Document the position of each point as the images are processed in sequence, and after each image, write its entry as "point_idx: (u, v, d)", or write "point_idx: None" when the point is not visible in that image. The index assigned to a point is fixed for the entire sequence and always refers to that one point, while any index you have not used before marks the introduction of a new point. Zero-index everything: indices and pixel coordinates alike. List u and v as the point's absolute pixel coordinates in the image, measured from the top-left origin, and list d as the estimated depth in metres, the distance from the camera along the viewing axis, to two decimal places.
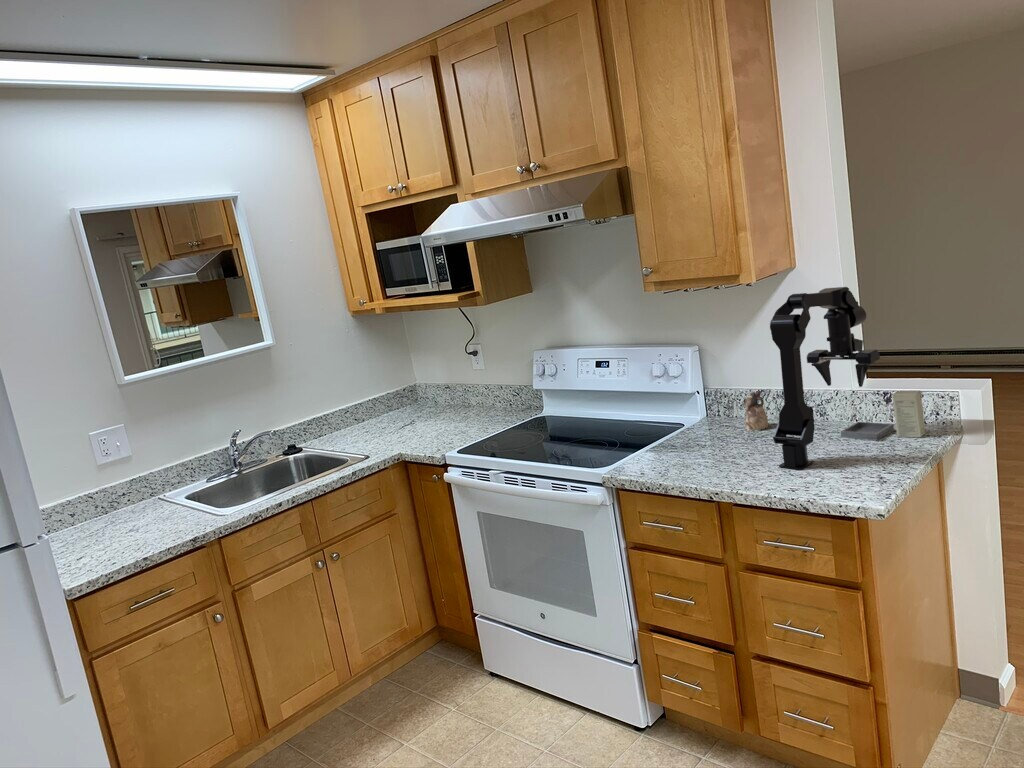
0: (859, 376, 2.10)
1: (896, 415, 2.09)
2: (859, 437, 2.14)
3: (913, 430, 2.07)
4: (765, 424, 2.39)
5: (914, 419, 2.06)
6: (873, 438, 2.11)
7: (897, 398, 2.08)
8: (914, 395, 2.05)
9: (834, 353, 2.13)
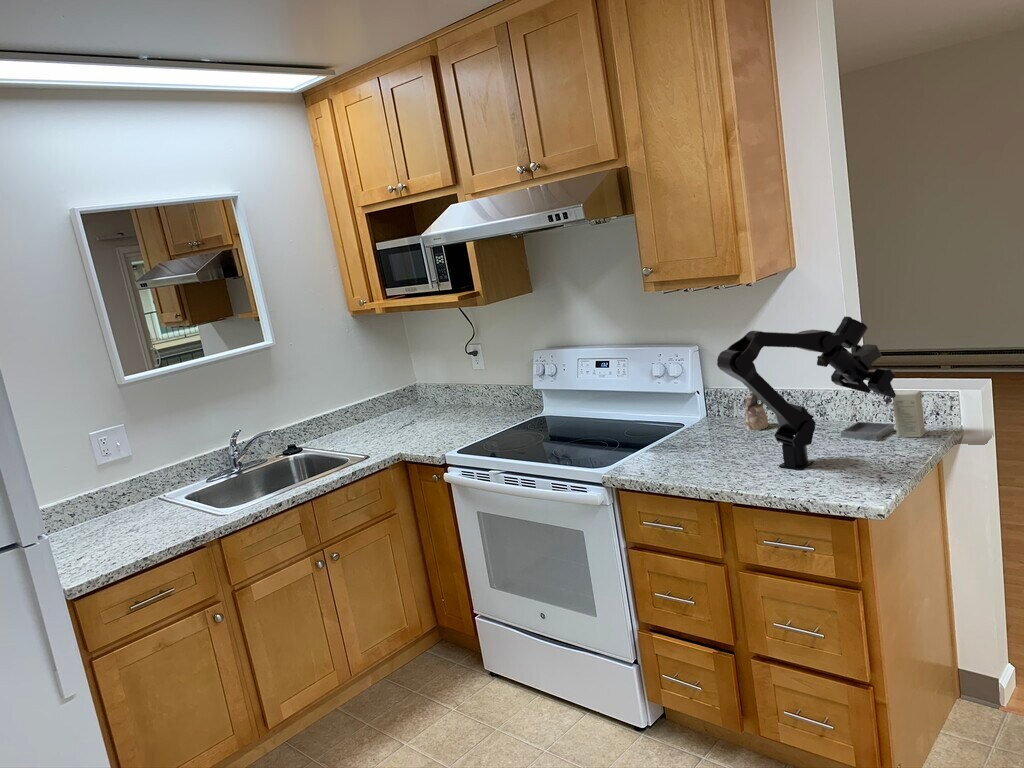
0: None
1: (896, 415, 2.09)
2: (859, 437, 2.14)
3: (913, 430, 2.07)
4: (765, 424, 2.39)
5: (914, 419, 2.06)
6: (873, 438, 2.11)
7: (897, 398, 2.08)
8: (914, 395, 2.05)
9: (850, 381, 2.04)
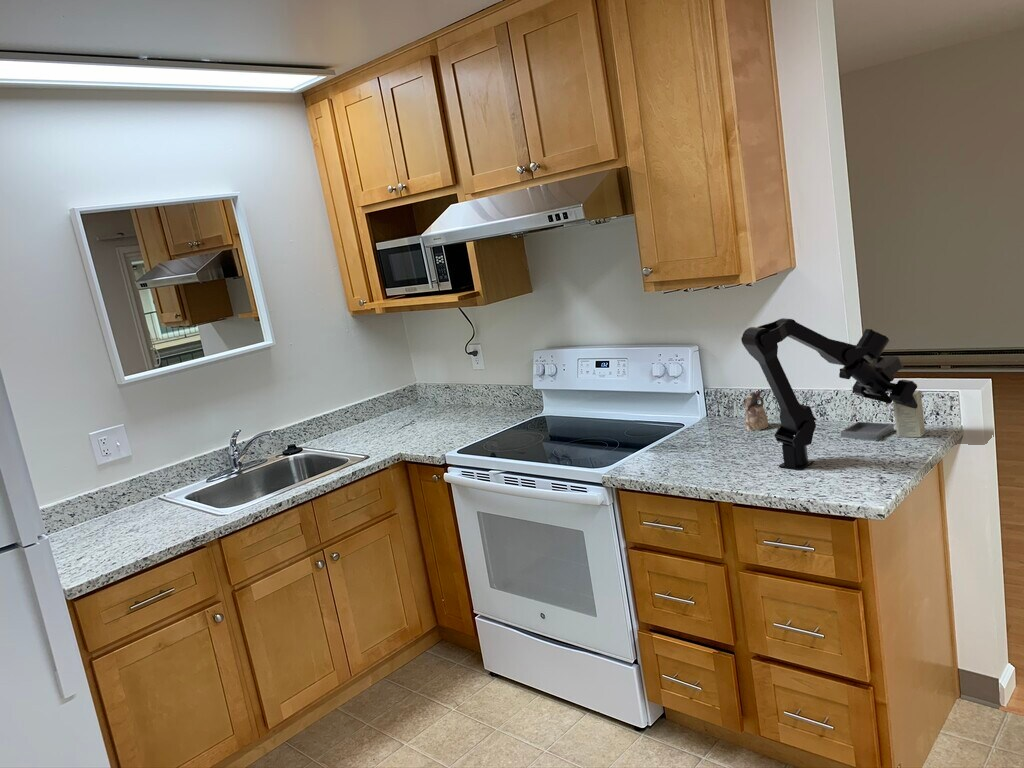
0: (907, 406, 2.02)
1: (896, 415, 2.09)
2: (859, 437, 2.14)
3: (913, 430, 2.07)
4: (765, 424, 2.39)
5: (914, 419, 2.06)
6: (873, 438, 2.11)
7: None
8: (914, 395, 2.05)
9: (872, 393, 2.06)
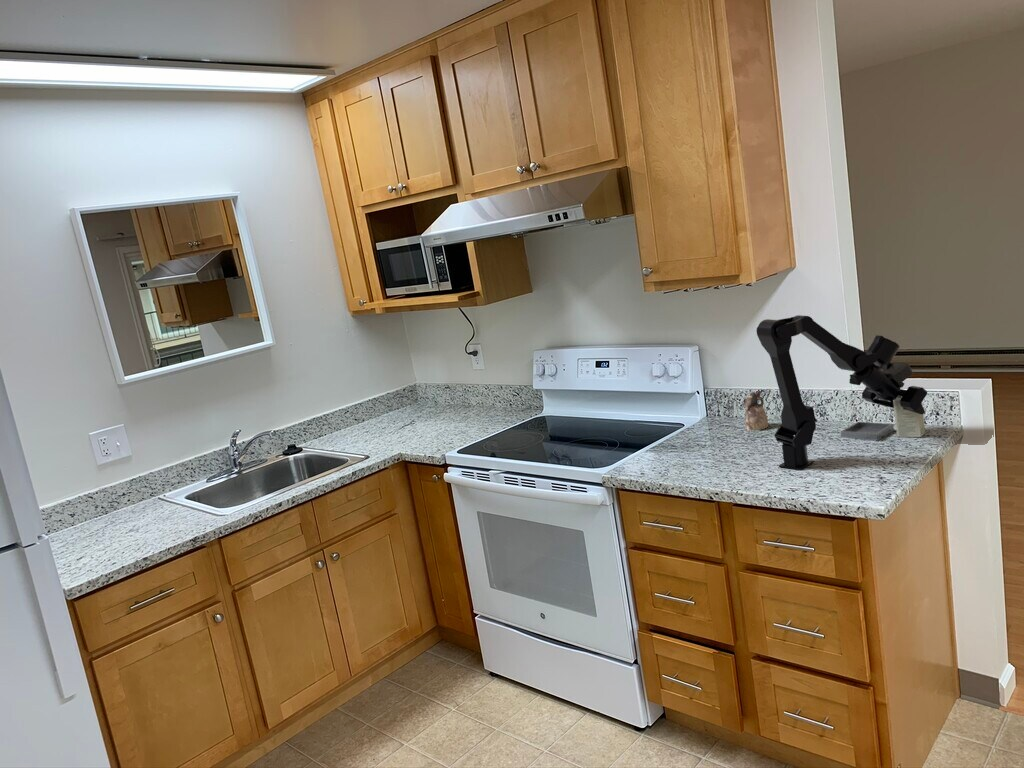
0: None
1: (896, 415, 2.09)
2: (859, 437, 2.14)
3: (913, 430, 2.07)
4: (765, 424, 2.39)
5: (914, 419, 2.06)
6: (873, 438, 2.11)
7: (897, 398, 2.08)
8: None
9: (881, 399, 2.07)
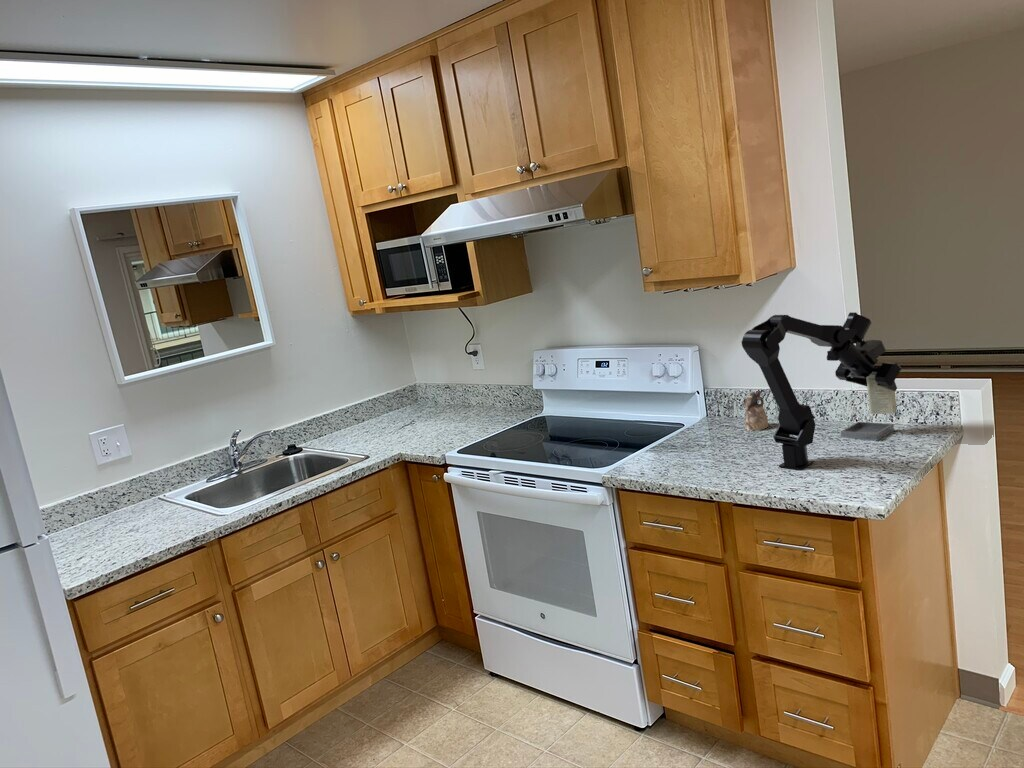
0: (887, 388, 2.07)
1: (869, 392, 2.12)
2: (859, 437, 2.14)
3: (886, 407, 2.11)
4: (765, 424, 2.39)
5: (887, 396, 2.10)
6: (873, 438, 2.11)
7: (870, 376, 2.11)
8: None
9: (856, 376, 2.10)
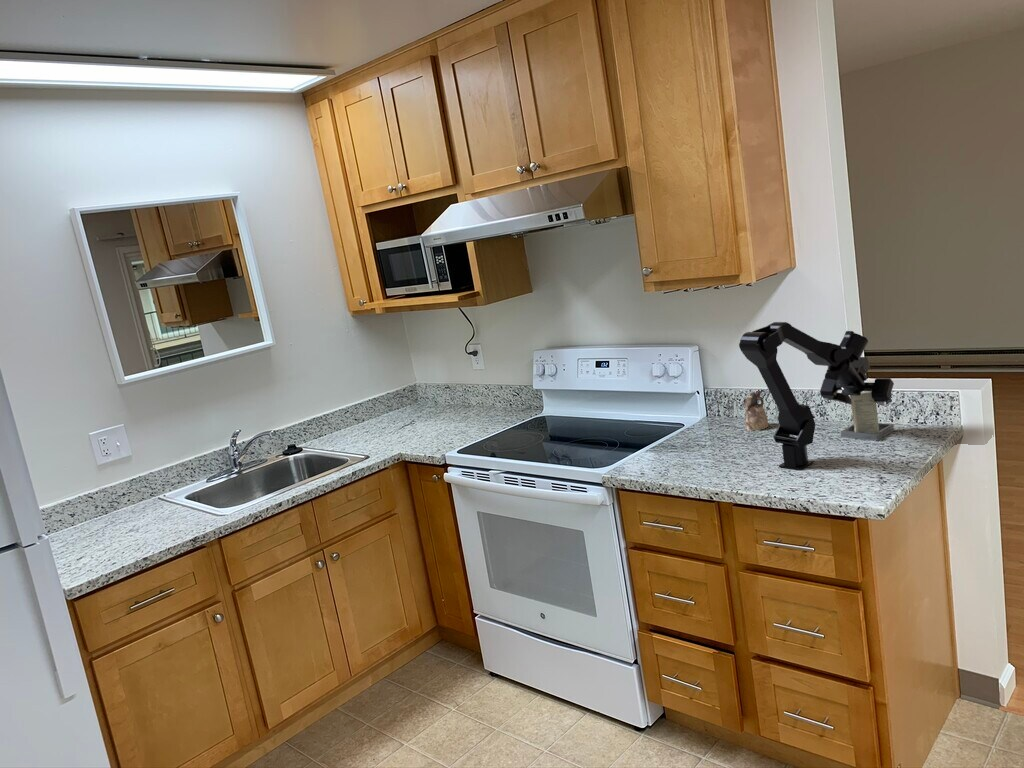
0: (880, 403, 2.10)
1: (855, 414, 2.15)
2: (859, 437, 2.14)
3: (872, 427, 2.15)
4: (765, 424, 2.39)
5: (873, 416, 2.14)
6: (873, 438, 2.11)
7: (856, 398, 2.14)
8: None
9: (848, 393, 2.11)
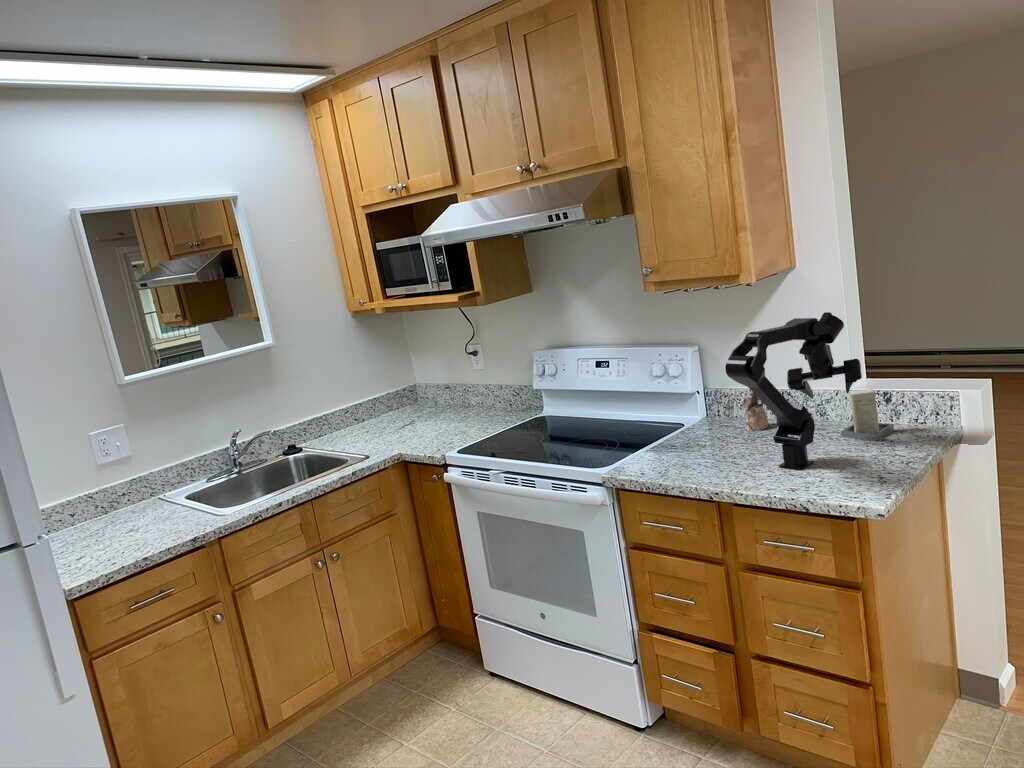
0: (848, 388, 2.08)
1: (855, 414, 2.15)
2: (859, 437, 2.14)
3: (872, 427, 2.15)
4: (765, 424, 2.39)
5: (873, 416, 2.14)
6: (873, 438, 2.11)
7: (856, 398, 2.14)
8: (873, 393, 2.13)
9: (820, 377, 2.07)
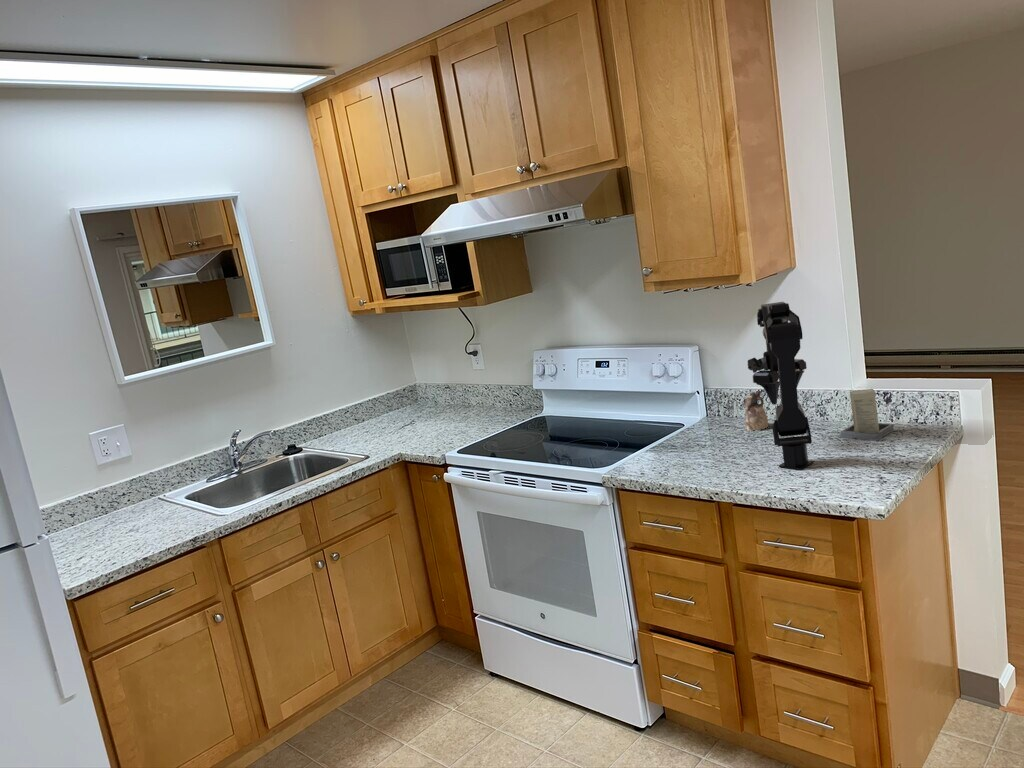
0: (797, 384, 2.20)
1: (855, 414, 2.15)
2: (859, 437, 2.14)
3: (872, 427, 2.15)
4: (765, 424, 2.39)
5: (873, 416, 2.14)
6: (873, 438, 2.11)
7: (856, 398, 2.14)
8: (873, 393, 2.13)
9: None
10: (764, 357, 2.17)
